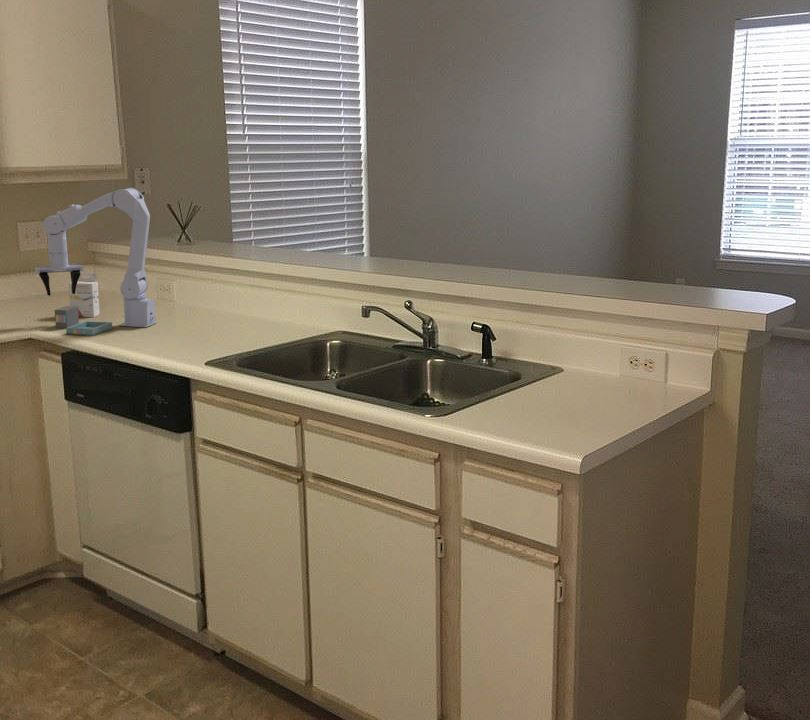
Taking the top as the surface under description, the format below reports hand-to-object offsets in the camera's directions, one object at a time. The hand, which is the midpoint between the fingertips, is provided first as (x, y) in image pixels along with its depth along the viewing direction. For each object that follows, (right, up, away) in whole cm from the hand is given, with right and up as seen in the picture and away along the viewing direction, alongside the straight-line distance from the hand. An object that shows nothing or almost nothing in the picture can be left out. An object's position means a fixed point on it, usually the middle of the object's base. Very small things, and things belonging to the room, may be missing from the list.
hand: (61, 294), depth 298 cm
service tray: (+13, -12, -9) cm, 20 cm away
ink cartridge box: (+2, -6, +16) cm, 17 cm away
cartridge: (+3, -11, -2) cm, 11 cm away
